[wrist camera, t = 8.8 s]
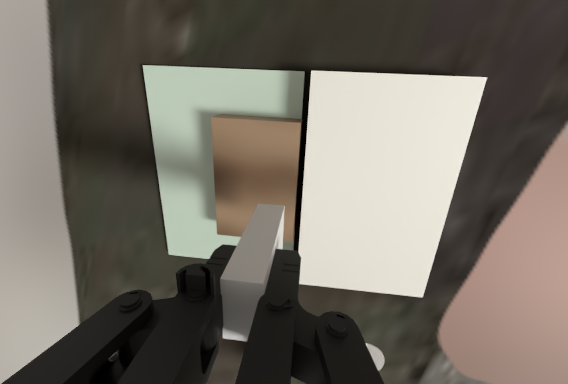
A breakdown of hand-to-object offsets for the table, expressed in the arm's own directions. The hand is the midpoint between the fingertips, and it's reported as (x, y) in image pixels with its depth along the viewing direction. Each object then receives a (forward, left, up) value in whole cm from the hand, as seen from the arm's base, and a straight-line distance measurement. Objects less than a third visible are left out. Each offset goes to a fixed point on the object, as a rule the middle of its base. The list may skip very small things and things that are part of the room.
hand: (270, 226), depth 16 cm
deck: (0, -7, -7) cm, 10 cm away
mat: (0, +5, -7) cm, 8 cm away
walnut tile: (+1, +2, -7) cm, 7 cm away
